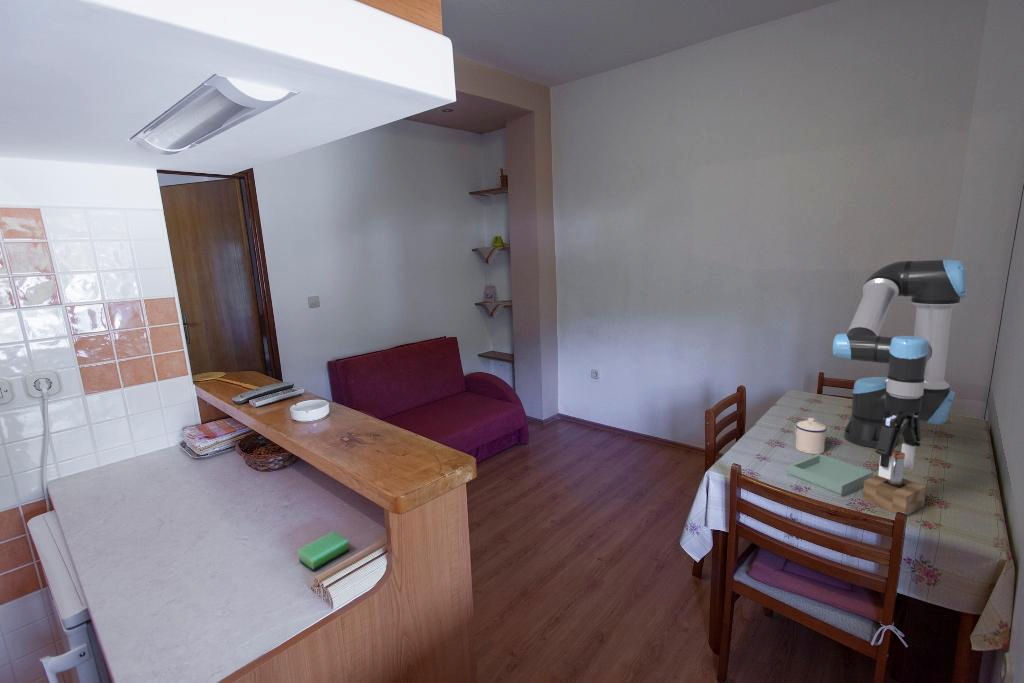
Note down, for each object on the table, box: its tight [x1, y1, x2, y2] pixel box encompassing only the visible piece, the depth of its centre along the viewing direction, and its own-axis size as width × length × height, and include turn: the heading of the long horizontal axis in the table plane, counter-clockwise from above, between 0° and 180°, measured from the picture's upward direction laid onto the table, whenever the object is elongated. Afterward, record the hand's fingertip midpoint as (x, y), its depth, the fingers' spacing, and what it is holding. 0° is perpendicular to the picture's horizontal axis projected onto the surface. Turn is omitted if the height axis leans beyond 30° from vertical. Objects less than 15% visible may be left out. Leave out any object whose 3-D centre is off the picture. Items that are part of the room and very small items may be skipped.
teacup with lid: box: [794, 417, 827, 455], centre depth 165 cm, size 12×9×12 cm
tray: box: [786, 453, 874, 498], centre depth 144 cm, size 16×16×4 cm
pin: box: [888, 450, 905, 488], centre depth 128 cm, size 3×3×15 cm
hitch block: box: [861, 474, 927, 517], centre depth 128 cm, size 10×10×6 cm
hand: (895, 472), depth 127 cm, fingers open, 10 cm apart
